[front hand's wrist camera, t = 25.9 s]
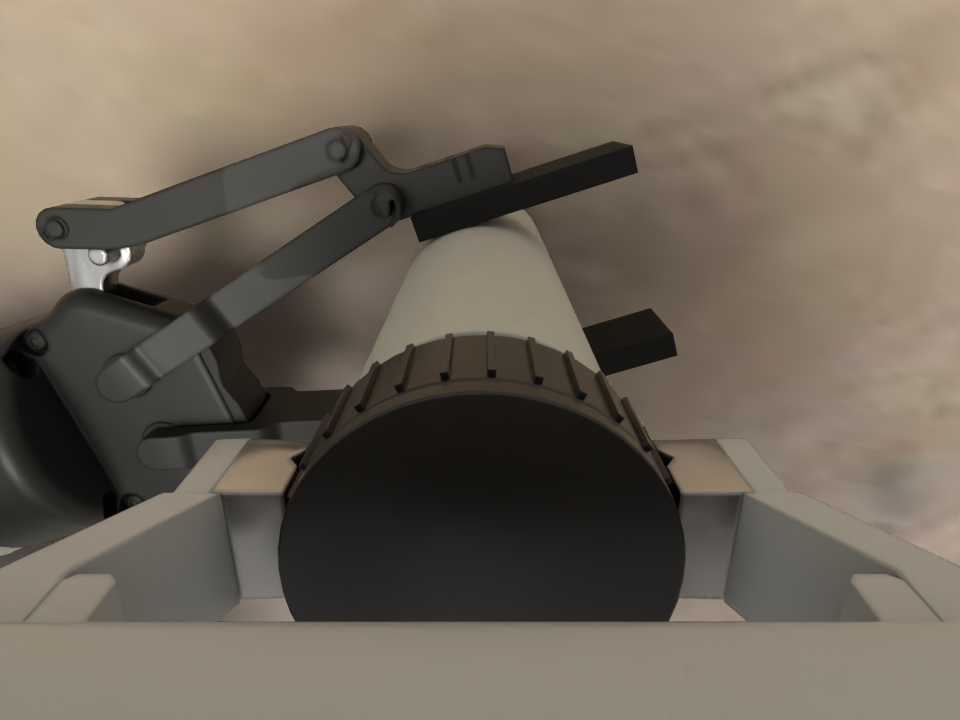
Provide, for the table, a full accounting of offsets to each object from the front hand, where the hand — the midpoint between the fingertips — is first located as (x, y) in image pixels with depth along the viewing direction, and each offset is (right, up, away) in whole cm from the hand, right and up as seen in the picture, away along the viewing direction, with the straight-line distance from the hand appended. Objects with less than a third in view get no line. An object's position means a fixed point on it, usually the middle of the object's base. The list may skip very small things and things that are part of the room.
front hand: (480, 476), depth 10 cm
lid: (0, -1, -2) cm, 2 cm away
